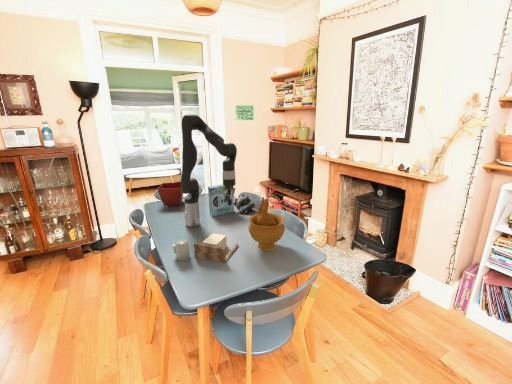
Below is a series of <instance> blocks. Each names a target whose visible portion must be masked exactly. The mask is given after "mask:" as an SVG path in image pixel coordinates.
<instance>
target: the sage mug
mask: <svg viewBox="0 0 512 384" xmlns="http://www.w3.org/2000/svg"><path fill="white" fill-rule="evenodd" d="M172 249H173V254H175V256H176V260H177V261H180V262H183V261H186V260H188V259H190V258H191V253H190V243H189V240H188V239H179V240H176V241H175V242H174V244H173V245H172Z"/></svg>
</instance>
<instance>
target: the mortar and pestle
mask: <svg viewBox="0 0 512 384" xmlns="http://www.w3.org/2000/svg"><path fill="white" fill-rule="evenodd" d="M269 206H270V204H269V200H268V199H267V198H265V197H264V196H263V197H261V202H260V204H259V206H258V211H257V213H256V214H252V215H251V216H250V217H249V218H248V222H249V225H248V233H249V234H250V237H251V238H252V239H253V240H254V241H255V242H257V243H258V244H257V248H258V249H260V250H262V251H272V250H274V249H275V248H276V244H275V243H277V242H278V241H280V240H281V238H282V237H283V235H284V233H285V231H286V226H285V224H284V222H285V217H283V216H282V215H280V214H278V213H271V212H269V211H268V210H269Z"/></svg>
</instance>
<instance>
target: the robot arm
mask: <svg viewBox="0 0 512 384" xmlns="http://www.w3.org/2000/svg"><path fill="white" fill-rule="evenodd" d="M196 130H197V131H198V132H201V133H202V134H203V136H204V138H205V140H206V141H207V142H208V143H209V144H211V146H213V147H214V148H215V150H216V152H218V154H220V155H221V156H223V157H225V159H224V160H223V161H222V185H224V186H225V193H223V194H224V196H225V198H226V199H228V205H232V197H233V196H234V197H235V191H236V188H235V187H234V186H236V184H237V183H236V169H235V168H236V166H235V165H236V164H235V162H236V158H237V155H238V154H237V153H238V152H237V151H238V149H237V146H236V145H235V143H232V142H230V143H225V140H224V138H223V137H222V136H221V135H219V134H218V133H216V132H215V131H214V130H213V129H212V128H211V127H210V126H209V125H208V124H207V123H206V122H205V121H204V120H203V119H202V118H201V117H200V116H199V115H198V114H184V115H183V116H182V118H181V133H182V152H181V153H182V160H181V161H182V166H181V168H182V169H181V179H180V182H181V190H182V192H183V194H185V195H186V196H185V197H184V207H185V212H184V221H185V226H186V227H189V228H195V227H198V226H200V225H201V221H200V220H201V218H200V207H199V206H200V205H199V198H200V185H199V181H198V180H197V178H193V177H192V178H191V176H192V172H193V170H194V168H195V167H196V165H197V161H198V149H197V147H196V145H195V143H194V141H193V131H196Z"/></svg>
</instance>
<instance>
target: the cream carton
mask: <svg viewBox="0 0 512 384" xmlns="http://www.w3.org/2000/svg"><path fill="white" fill-rule="evenodd" d="M201 244H206V245H212V246H218V247H224V248H225V249H226V248H227V246H228V242H227V235H225V234H221V233H220V234H219V233H211V234H210V235H209V236H207V238H205V239H204V240H203V241H202V242H201Z"/></svg>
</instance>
